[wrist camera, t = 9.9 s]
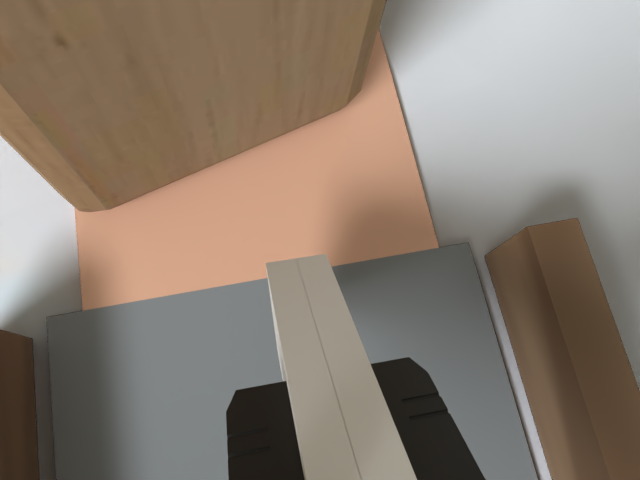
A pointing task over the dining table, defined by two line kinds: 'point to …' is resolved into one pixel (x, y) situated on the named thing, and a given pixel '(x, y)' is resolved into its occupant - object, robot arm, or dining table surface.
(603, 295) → the lane rails
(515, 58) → the dining table surface
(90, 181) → the wooden block
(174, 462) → the grey square panel
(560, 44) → the dining table surface
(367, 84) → the tile
